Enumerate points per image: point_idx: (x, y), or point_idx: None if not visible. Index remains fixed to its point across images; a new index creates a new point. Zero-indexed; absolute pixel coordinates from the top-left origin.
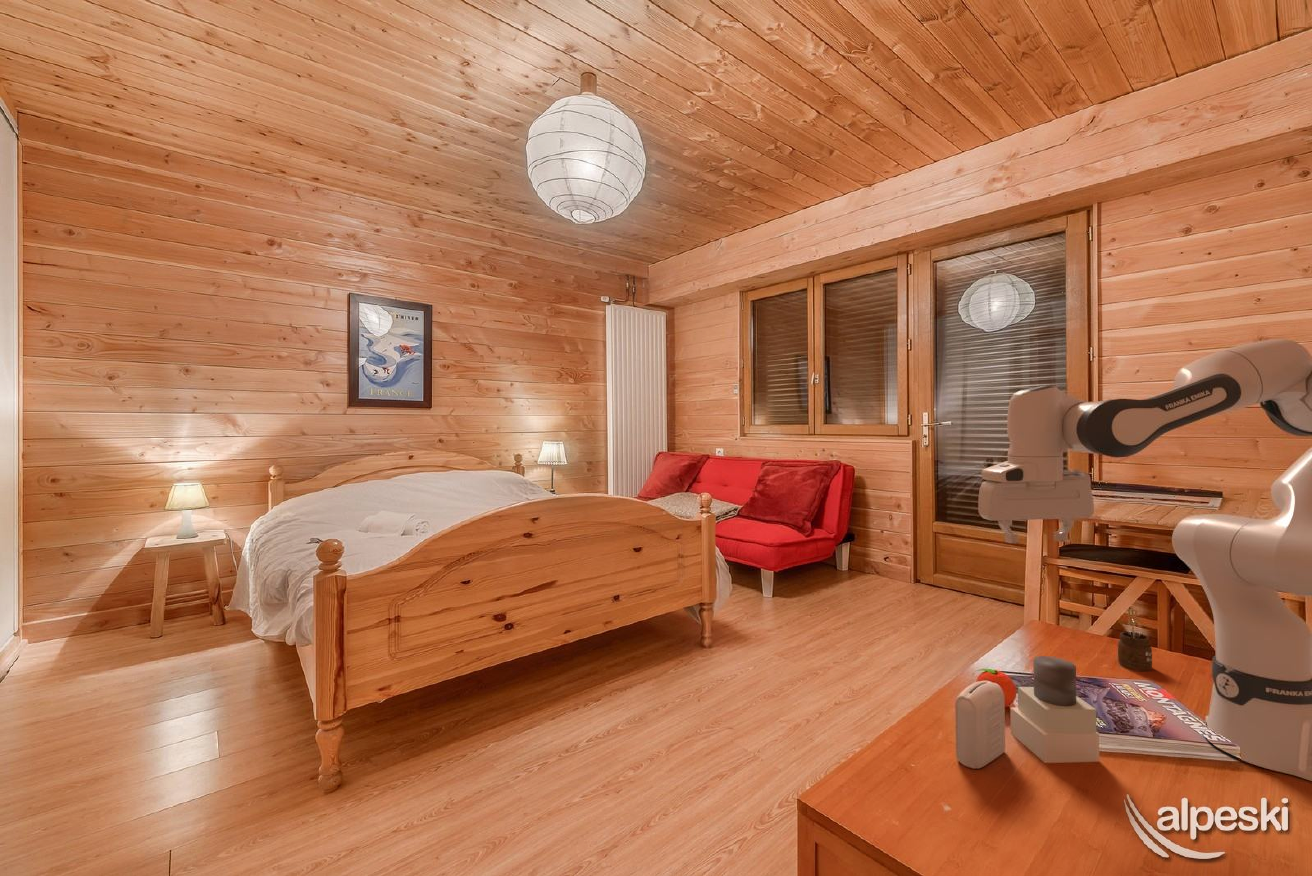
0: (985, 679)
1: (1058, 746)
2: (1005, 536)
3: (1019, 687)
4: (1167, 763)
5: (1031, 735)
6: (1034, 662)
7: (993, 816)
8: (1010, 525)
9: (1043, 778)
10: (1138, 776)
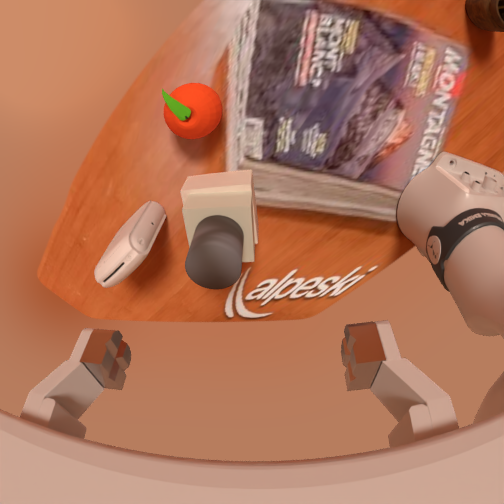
0: (169, 124)
1: None
2: (78, 349)
3: (184, 210)
4: (326, 226)
5: None
6: (185, 264)
7: (134, 290)
8: (80, 426)
9: (187, 251)
10: (279, 245)
